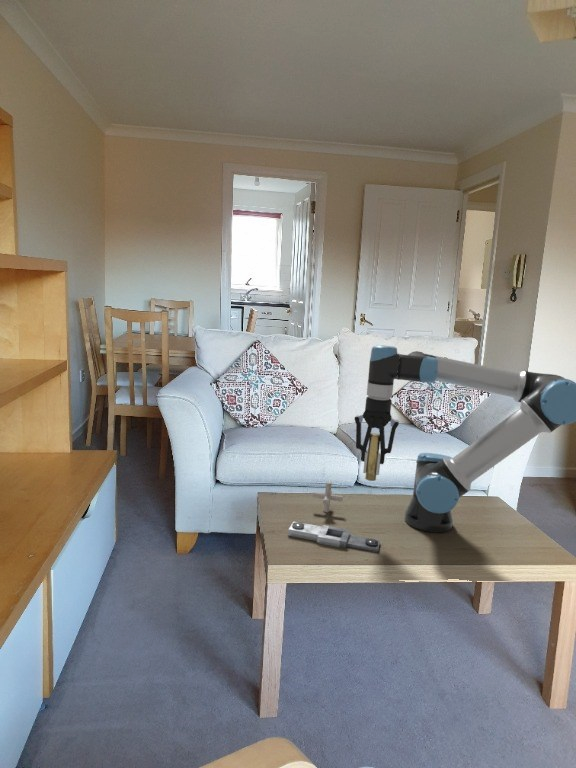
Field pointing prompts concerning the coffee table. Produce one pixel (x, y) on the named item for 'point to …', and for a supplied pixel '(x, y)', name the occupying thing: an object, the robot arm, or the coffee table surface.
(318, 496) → the pipe connector
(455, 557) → the coffee table surface
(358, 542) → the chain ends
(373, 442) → the pin
